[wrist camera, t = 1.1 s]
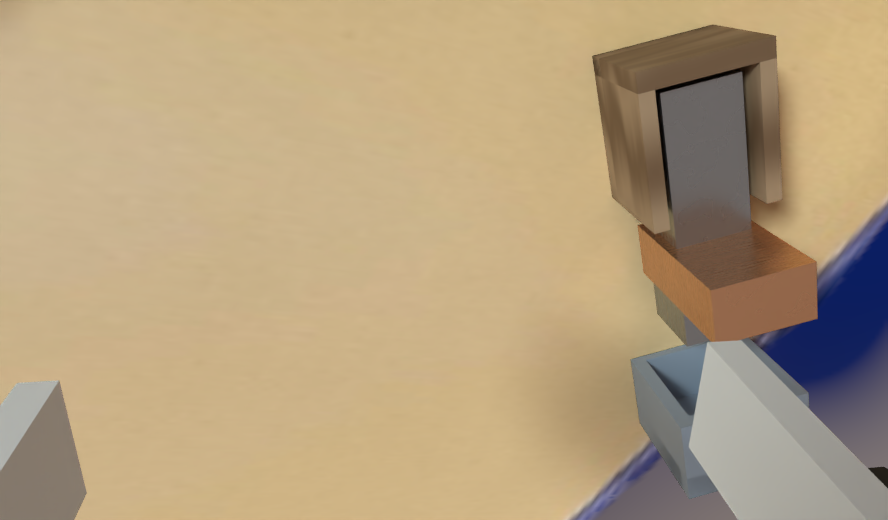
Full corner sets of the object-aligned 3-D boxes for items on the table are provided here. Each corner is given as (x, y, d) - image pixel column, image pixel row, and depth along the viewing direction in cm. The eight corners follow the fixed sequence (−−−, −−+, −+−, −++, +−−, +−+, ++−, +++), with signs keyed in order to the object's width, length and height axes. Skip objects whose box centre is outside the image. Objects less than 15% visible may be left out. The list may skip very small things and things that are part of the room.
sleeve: (592, 55, 38) (635, 72, 32) (712, 24, 38) (775, 35, 33) (612, 197, 41) (654, 233, 36) (723, 167, 41) (782, 199, 36)
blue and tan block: (619, 82, 37) (695, 116, 29) (711, 58, 37) (812, 85, 29) (649, 315, 43) (720, 397, 35) (729, 293, 43) (818, 369, 35)
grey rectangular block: (630, 359, 45) (680, 428, 39) (739, 329, 46) (808, 392, 39) (639, 422, 47) (689, 499, 41) (744, 394, 48) (810, 464, 41)
